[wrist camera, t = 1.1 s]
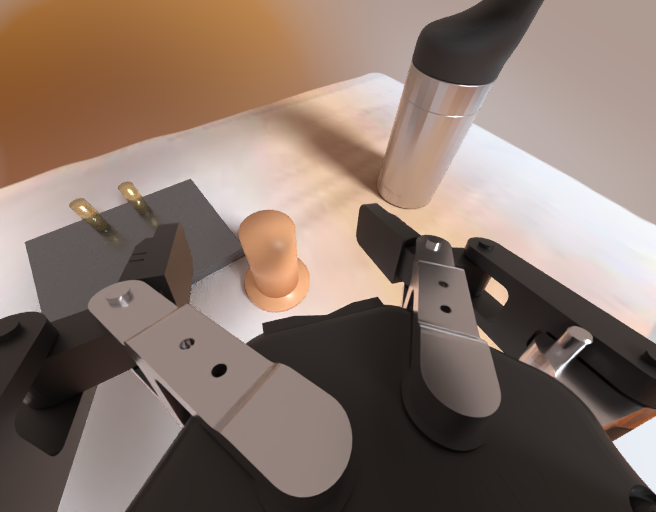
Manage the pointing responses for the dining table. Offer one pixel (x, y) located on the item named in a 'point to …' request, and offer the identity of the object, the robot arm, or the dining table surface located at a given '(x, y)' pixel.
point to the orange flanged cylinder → (273, 261)
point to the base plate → (123, 244)
